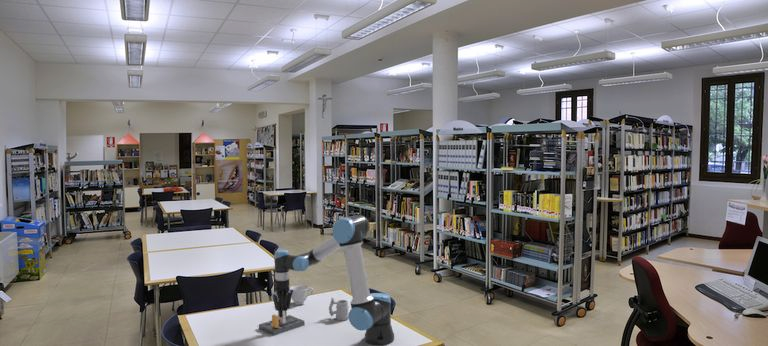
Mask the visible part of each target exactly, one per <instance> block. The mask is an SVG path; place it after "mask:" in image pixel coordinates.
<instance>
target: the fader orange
mask: <svg viewBox="0 0 768 346" xmlns="http://www.w3.org/2000/svg"><path fill="white" fill-rule="evenodd" d="M271 321H272V327H275V328H278V327H279V316H278V314H274V313H273V314H272V315H271Z"/></svg>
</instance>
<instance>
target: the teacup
mask: <svg viewBox="0 0 768 346" xmlns="http://www.w3.org/2000/svg"><path fill="white" fill-rule="evenodd" d="M289 288H290V289H291V290H293V293H292V296H291V301H292V302H294V304H295V305H297V306H301V305H304V303H305V302H306V301H307V298H308V297H309V296H312V294H314V288H313V287H309V286H308V285H306V284H305V285H303V284H302V285H301V284H298V285H292V286H289ZM310 290H311V292H310ZM308 292H310V293H308Z"/></svg>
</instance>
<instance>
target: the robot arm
mask: <svg viewBox="0 0 768 346" xmlns="http://www.w3.org/2000/svg"><path fill="white" fill-rule="evenodd" d="M370 227H371V225H370V222H369V219H368V218H367V217H366V216H364V215H361V214H355V215H349V216H345V217H341V218H339V219H338V220H336V222H335V223H334V225H333V226H332V232H331V233H332V236H331V237H329V238H328V239H326V240H324V241H323V242H322V243H320V244H319V245H317V246H315V247H314V248H312V249H311V250H309V251H308V252H306V253H304V252H303V253H300V254H299V255H291V254H290V253H289V250H287V249H277V250H275V252H274V279H275V280H274V287H275V289H274V292H273V293H271V295H270V296H271V297H272V301H273V304H274V308H275V309H274V310H275V311H277V312H278V311H279V317H280V322H281V323H286V317H285V316H288V315H287V311H288V310H289V309H290V306H291V302H292V293H293V290H291V289H290V271H296V272H304V271H306V270H307V269H308V268H309V267H311V266H314V265H317V264H319V263H321V262H322V260H323V259H326V257H328V256H330V255H331V254H333V253H335V252H336V251H338V250H340V249H342V250H343V254H344V259H345V264H346V269H347V270H346V271H347V275H348V279H349V280H348V281H349V285H350V291H351V296H352V299H351V301H350V308H351V309H350V310H349V311H348V314H349V315H348V318H349V319H348V321H349V323H350V325H351V326H352V327H353V328H354V329H356V330H357V331H365V333H364V340H365V342H366V343H368V344H370V345H376V346H381V345H384V346H385V345H389V344H390V343H392V342H394V340H395V332H394V331H393V326H392V320H391V319H392V318H391V317H392V316H391V315H392V314H391V313H392V312H391V308H392V307H391V306H392V305H391V303H392V301H391V296H390V295H388V294H386V293H381V292H373V293H371V292H370V287H369V282H368V276H367V271H366V265H365V261H364V256H363V250H362V245H363V243H364V240H363V238H364V237H365V236H366V235H367V234H369V231H370Z"/></svg>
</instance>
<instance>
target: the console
mask: <svg viewBox="0 0 768 346" xmlns="http://www.w3.org/2000/svg"><path fill="white" fill-rule="evenodd" d="M285 317H286V323H281V322H280V320H279V327H278V328H275V327H272V320H269V321H266V322H262V323H259V324H258V330H260V331H262V332H264V333H266V334H268V335H271V336H273V337H274V336H277V335H281V334H282V333H283V334H284V333H286V332H289V331H291V330H294V329H298V328H300V327H304V326H305V320H304V319H301V318H298V317H296V316H293V315H290V314H288V315H286V316H285Z"/></svg>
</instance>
